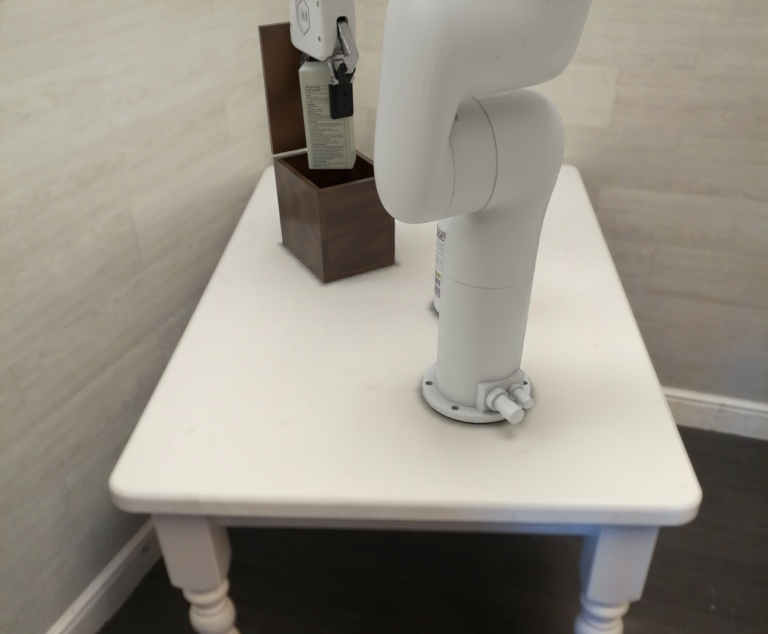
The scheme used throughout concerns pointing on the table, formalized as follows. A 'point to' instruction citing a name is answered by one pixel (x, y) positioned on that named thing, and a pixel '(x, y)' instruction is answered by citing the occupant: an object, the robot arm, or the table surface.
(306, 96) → the cosmetic box
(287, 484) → the table surface
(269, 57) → the lid
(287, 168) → the chest
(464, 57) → the robot arm
